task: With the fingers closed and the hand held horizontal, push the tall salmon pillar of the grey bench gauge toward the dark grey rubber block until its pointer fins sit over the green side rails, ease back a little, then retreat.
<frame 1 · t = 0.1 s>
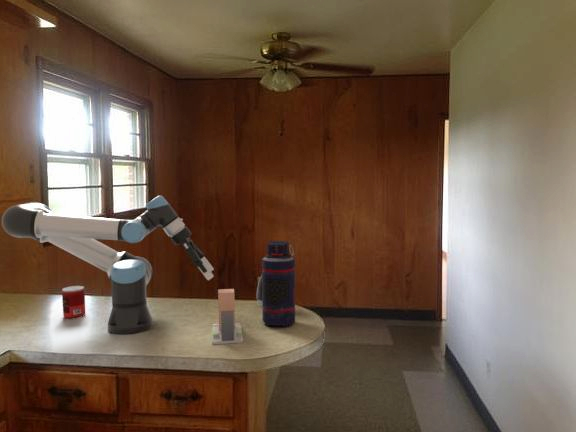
hand: (211, 274, 183), 15 cm above the worktop, tool tilted 35°, fingers open, 13 cm apart
navy red-striped canister: (279, 323, 171), on the worktop
dark grey rubber block: (227, 341, 152), resting on gauge base
tall salmon pillar: (226, 309, 162), point 8 cm above the worktop, slide at 0.0 cm
canned food: (74, 316, 181), on the worktop
pump dispenser: (269, 306, 192), on the worktop
gauge base: (227, 335, 157), on the worktop
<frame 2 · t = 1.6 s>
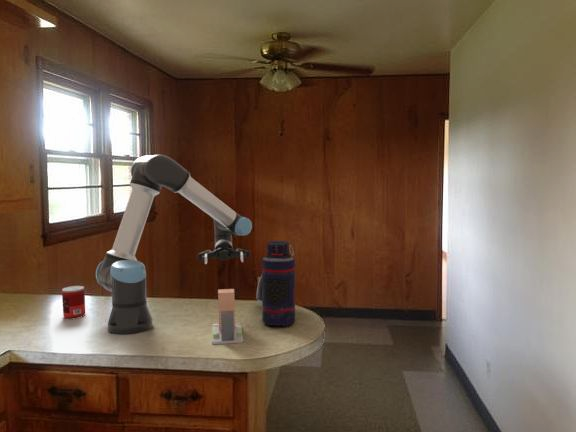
hand: (224, 259, 174), 23 cm above the worktop, tool horizontal, fingers open, 13 cm apart
nothing on the worktop moved.
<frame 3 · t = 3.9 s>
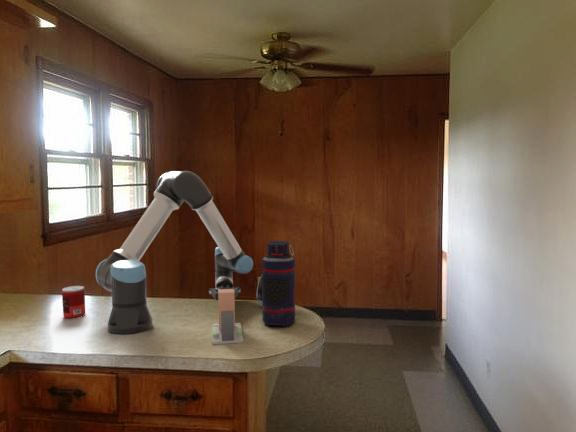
hand: (225, 301, 173), 7 cm above the worktop, tool horizontal, fingers closed
nothing on the worktop moved.
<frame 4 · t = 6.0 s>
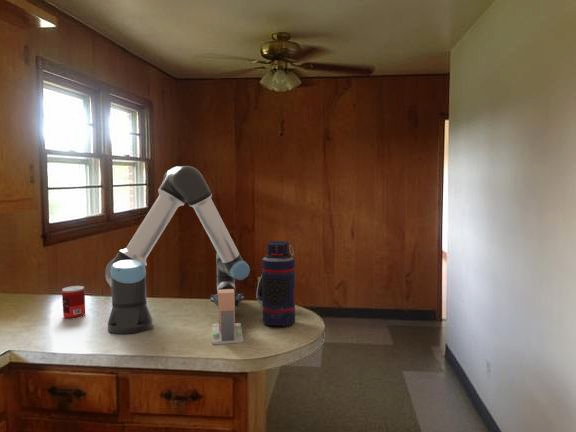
hand: (228, 309, 164), 7 cm above the worktop, tool horizontal, fingers closed
tall salmon pillar: (226, 309, 161), point 8 cm above the worktop, slide at 0.3 cm, touching gripper
everything else where it was.
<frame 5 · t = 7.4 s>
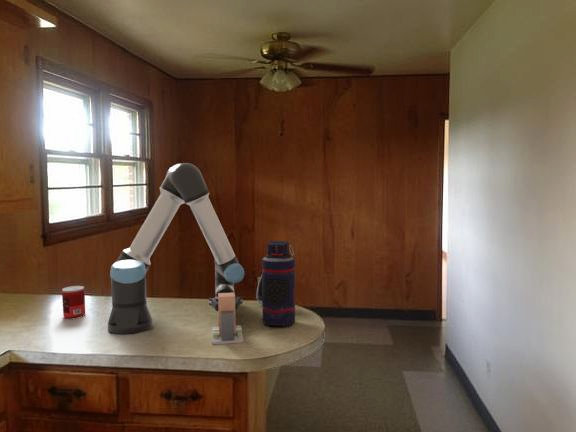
hand: (226, 313, 159), 7 cm above the worktop, tool horizontal, fingers closed
tall salmon pillar: (226, 313, 156), point 8 cm above the worktop, slide at 5.3 cm
everything else where it was.
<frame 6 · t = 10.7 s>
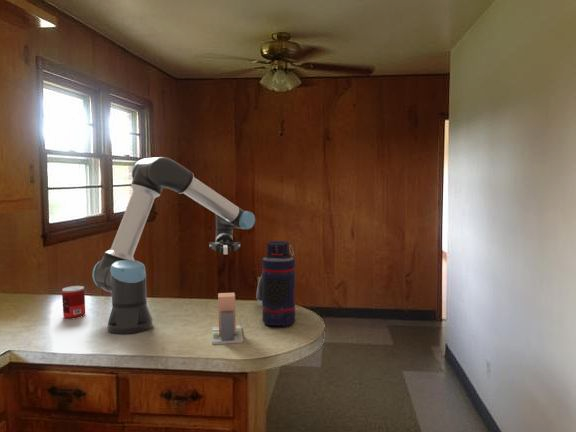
hand: (225, 250, 176), 26 cm above the worktop, tool horizontal, fingers closed
nothing on the worktop moved.
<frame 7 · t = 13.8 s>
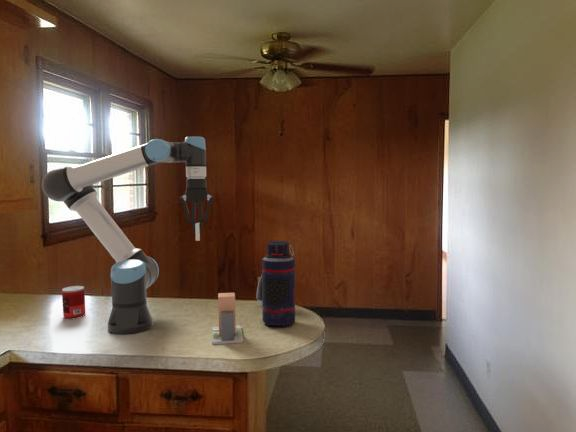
hand: (197, 240, 177), 29 cm above the worktop, tool pointing down, fingers closed
nothing on the worktop moved.
at the end: tall salmon pillar slide at 5.4 cm; tall salmon pillar touching nothing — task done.
